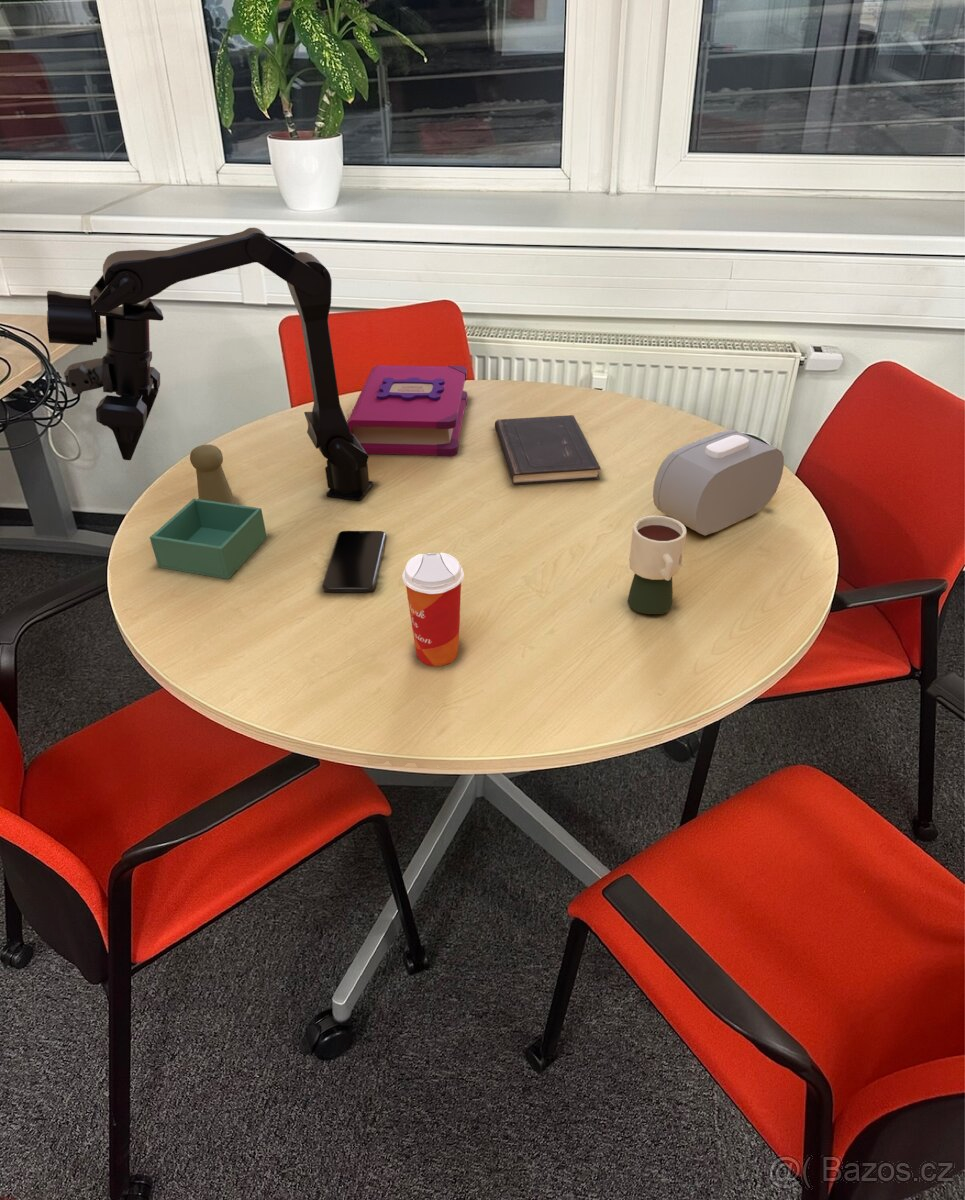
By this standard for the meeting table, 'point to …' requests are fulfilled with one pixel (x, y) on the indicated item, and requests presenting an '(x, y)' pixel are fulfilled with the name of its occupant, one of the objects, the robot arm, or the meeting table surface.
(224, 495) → the brown pawn
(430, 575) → the paper cup
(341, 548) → the smartphone
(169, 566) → the tote
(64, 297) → the robot arm
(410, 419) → the book
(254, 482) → the meeting table surface
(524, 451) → the hardcover book
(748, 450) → the alarm clock
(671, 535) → the character mug
